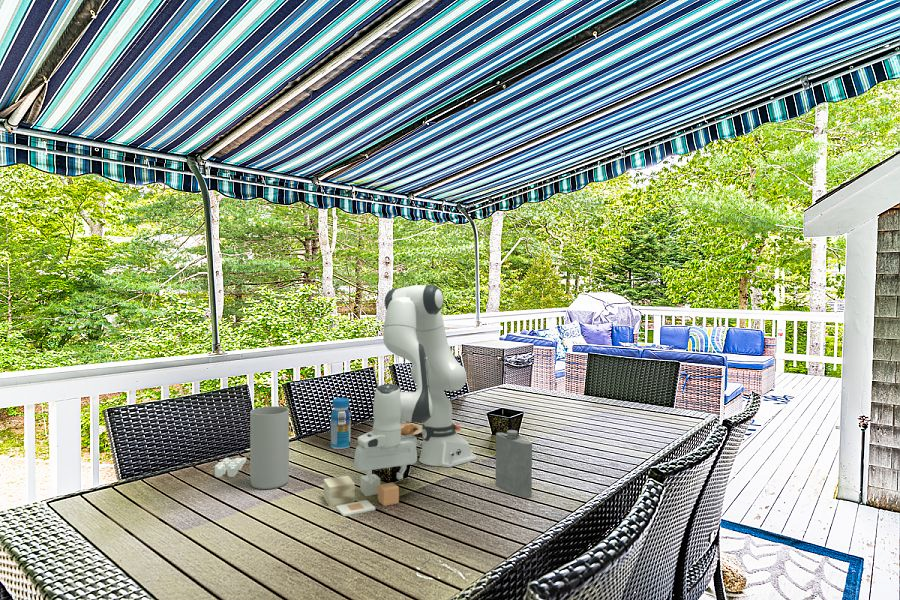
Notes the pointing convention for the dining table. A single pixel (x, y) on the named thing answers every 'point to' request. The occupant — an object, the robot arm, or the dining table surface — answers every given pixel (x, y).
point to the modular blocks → (229, 466)
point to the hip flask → (514, 464)
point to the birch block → (339, 490)
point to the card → (355, 508)
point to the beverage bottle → (340, 424)
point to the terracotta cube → (388, 494)
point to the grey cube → (369, 485)
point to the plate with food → (410, 429)
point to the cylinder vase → (269, 447)
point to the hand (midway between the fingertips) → (385, 481)
